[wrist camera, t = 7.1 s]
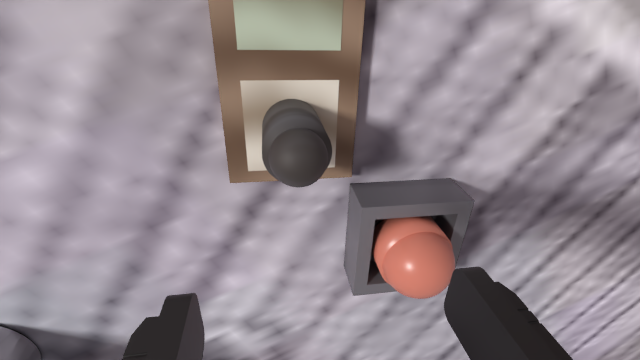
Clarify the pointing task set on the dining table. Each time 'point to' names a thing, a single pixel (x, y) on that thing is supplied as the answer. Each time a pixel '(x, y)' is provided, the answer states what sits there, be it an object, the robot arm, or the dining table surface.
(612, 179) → the dining table surface
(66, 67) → the dining table surface
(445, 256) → the dome
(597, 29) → the dining table surface
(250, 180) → the board
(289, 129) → the pawn
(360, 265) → the dome collar
